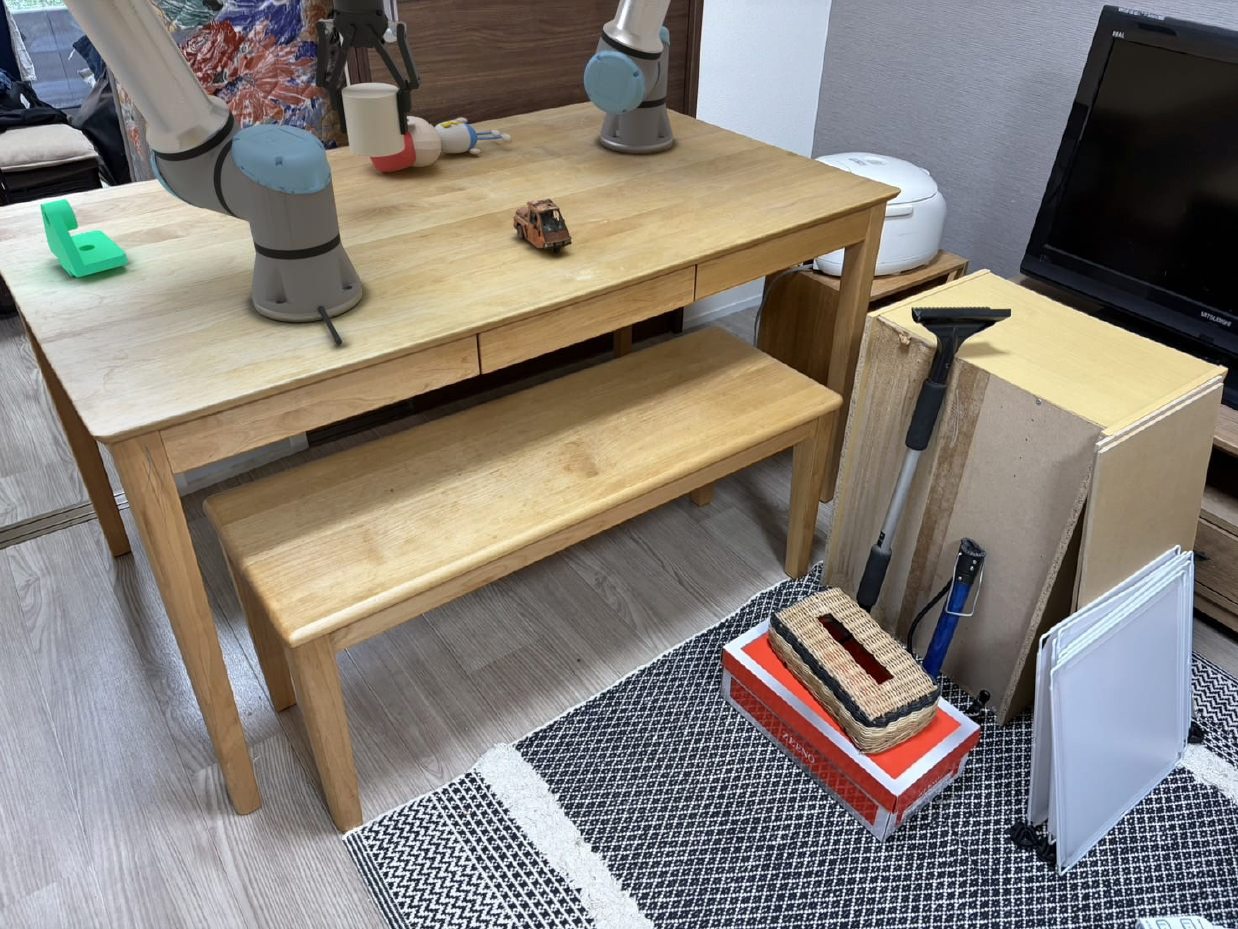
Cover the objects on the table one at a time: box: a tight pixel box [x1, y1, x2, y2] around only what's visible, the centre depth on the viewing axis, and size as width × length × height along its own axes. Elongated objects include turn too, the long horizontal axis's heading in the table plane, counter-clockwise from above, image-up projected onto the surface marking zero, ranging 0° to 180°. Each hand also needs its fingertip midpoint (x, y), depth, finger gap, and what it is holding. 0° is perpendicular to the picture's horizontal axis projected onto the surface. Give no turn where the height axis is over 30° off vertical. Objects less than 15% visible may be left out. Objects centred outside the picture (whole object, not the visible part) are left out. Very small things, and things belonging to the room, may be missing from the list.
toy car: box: [512, 198, 573, 256], centre depth 150 cm, size 6×12×7 cm, turn 39°
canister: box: [342, 82, 405, 158], centre depth 153 cm, size 9×9×9 cm
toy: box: [369, 115, 513, 173], centre depth 182 cm, size 18×10×30 cm
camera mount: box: [39, 198, 129, 278], centre depth 139 cm, size 12×8×10 cm, turn 42°
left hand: (375, 131), depth 154 cm, fingers closed on canister, 9 cm apart
